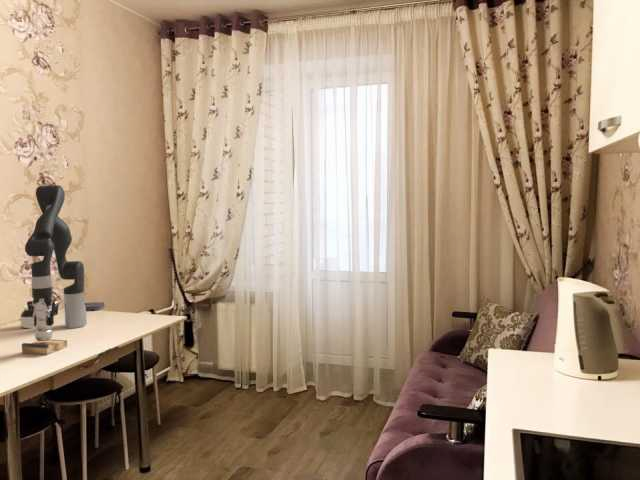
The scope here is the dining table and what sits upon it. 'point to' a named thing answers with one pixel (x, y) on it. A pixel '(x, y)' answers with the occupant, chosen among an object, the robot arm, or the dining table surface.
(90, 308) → the streaming box
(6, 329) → the dining table surface
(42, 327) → the plastic bottle
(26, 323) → the spread jar
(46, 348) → the dock
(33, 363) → the dining table surface
